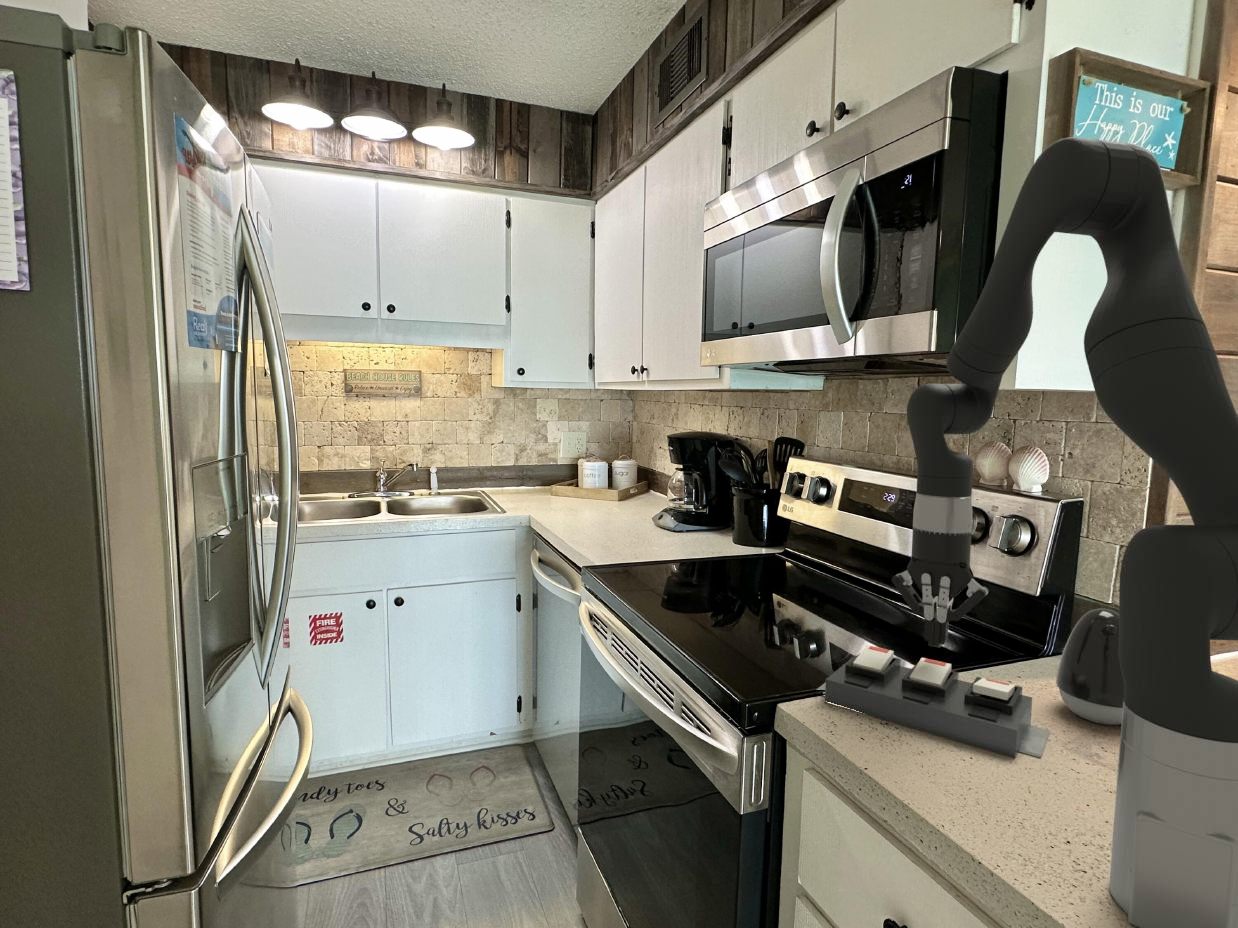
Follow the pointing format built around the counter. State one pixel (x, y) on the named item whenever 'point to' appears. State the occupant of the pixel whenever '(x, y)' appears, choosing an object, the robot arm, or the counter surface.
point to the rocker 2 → (994, 688)
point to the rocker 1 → (874, 658)
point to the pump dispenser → (1093, 669)
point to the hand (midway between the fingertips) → (935, 644)
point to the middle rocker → (931, 672)
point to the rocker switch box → (939, 707)
